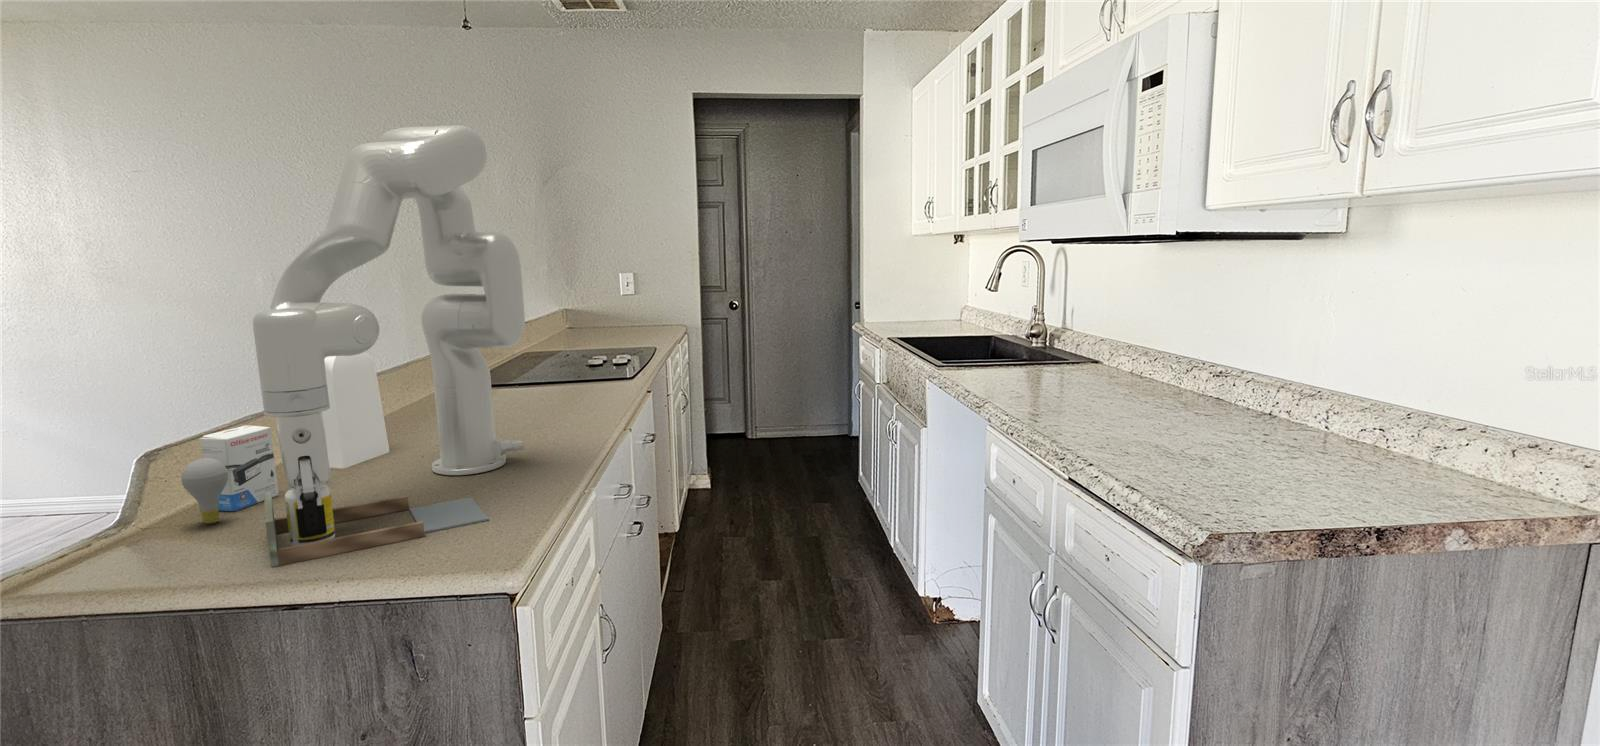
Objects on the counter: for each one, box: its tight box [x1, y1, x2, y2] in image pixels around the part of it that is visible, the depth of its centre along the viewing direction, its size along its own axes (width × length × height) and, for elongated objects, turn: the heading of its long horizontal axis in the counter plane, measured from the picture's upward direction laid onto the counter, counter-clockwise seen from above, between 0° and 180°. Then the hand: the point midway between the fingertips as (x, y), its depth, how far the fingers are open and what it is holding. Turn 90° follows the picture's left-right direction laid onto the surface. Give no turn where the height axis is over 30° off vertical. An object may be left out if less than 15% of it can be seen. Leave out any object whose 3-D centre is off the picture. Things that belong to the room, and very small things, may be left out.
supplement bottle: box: [284, 474, 336, 546], centre depth 108 cm, size 5×5×10 cm
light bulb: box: [181, 457, 228, 526], centre depth 116 cm, size 6×6×10 cm
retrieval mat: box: [408, 497, 490, 534], centre depth 119 cm, size 9×12×1 cm
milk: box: [321, 351, 391, 469], centre depth 149 cm, size 12×12×26 cm
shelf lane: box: [264, 492, 426, 568], centre depth 111 cm, size 18×15×6 cm
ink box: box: [199, 425, 279, 512], centre depth 125 cm, size 8×5×12 cm, turn 168°
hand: (311, 527), depth 109 cm, fingers closed on supplement bottle, 5 cm apart
